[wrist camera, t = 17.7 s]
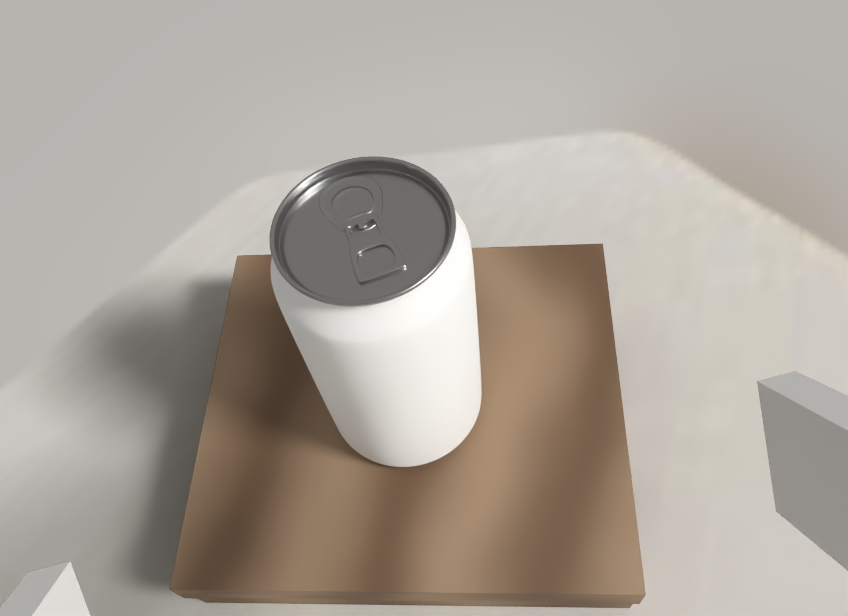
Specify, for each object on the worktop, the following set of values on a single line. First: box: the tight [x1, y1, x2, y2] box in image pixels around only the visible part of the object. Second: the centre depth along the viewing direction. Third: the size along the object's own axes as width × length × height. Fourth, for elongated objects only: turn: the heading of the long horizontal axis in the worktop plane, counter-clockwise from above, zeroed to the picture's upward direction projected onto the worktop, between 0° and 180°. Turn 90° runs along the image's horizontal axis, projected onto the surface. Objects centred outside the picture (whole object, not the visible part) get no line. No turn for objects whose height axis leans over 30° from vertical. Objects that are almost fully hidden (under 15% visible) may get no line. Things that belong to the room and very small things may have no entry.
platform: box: [170, 244, 646, 608], centre depth 34 cm, size 18×16×4 cm
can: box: [270, 157, 482, 467], centre depth 27 cm, size 6×6×12 cm
